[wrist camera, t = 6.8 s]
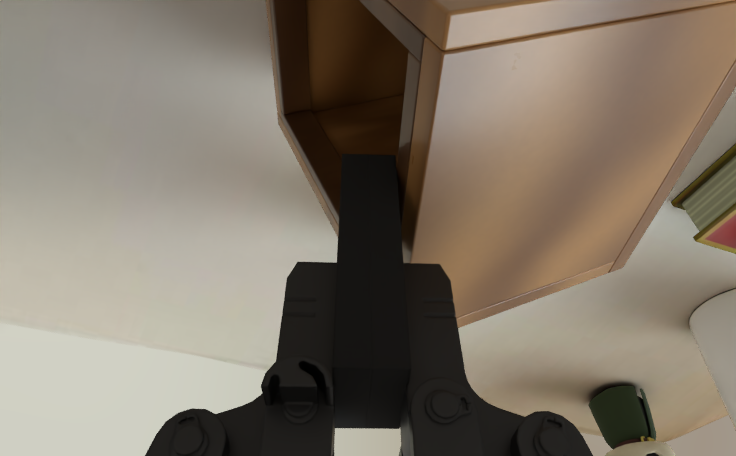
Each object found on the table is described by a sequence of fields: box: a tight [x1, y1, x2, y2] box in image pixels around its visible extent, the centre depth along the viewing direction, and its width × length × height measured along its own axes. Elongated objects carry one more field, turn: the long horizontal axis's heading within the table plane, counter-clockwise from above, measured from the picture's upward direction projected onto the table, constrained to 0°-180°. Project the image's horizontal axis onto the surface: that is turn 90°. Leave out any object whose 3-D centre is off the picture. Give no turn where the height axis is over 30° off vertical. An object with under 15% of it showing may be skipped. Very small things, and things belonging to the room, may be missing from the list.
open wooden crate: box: [266, 0, 736, 328], centre depth 20 cm, size 10×12×15 cm
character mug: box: [589, 386, 676, 456], centre depth 55 cm, size 11×7×13 cm, turn 63°
